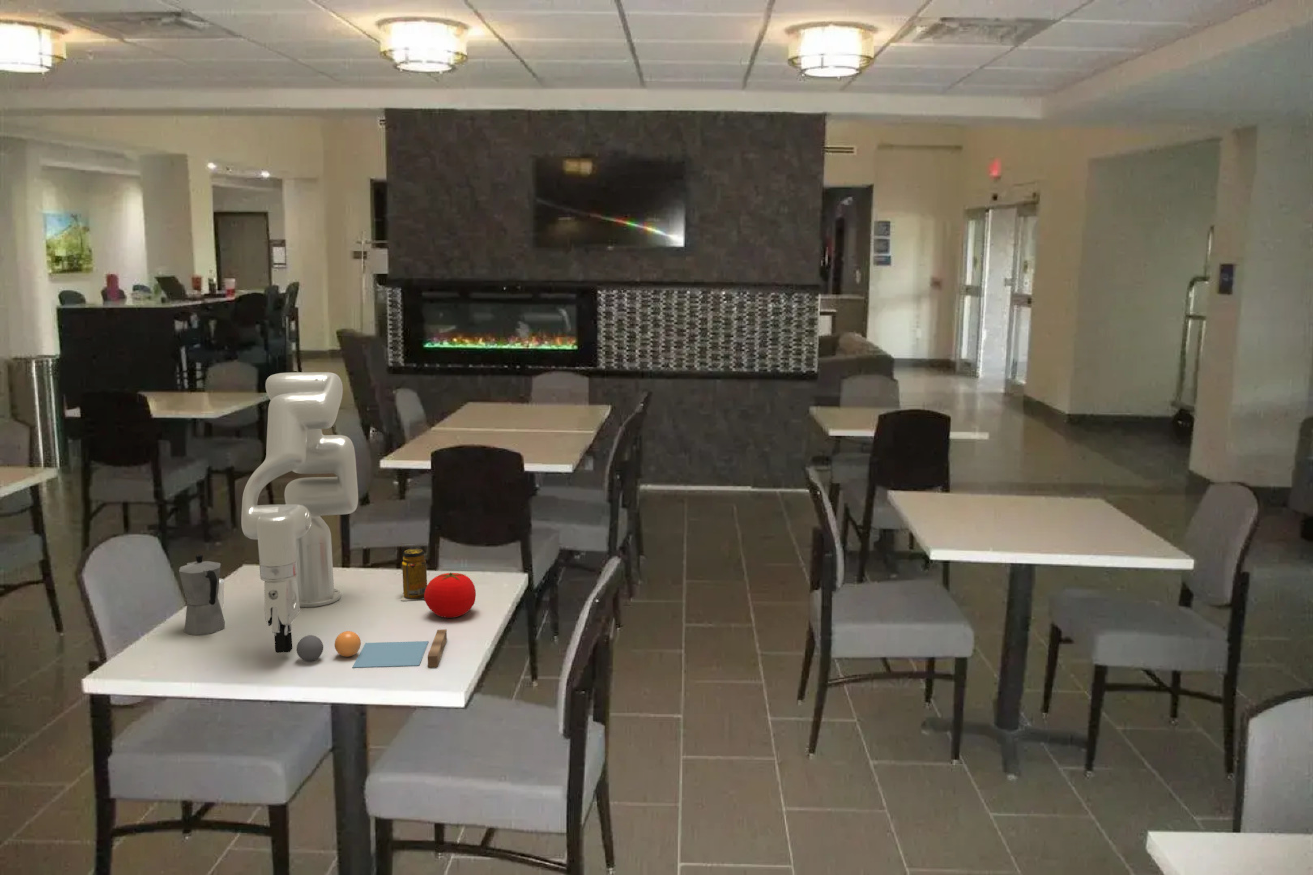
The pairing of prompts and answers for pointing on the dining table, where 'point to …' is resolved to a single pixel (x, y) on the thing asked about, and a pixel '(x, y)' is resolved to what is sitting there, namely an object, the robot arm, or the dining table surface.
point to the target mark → (391, 654)
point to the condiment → (414, 575)
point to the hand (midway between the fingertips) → (284, 651)
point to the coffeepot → (202, 597)
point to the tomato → (450, 595)
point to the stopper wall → (437, 648)
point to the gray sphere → (309, 648)
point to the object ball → (347, 643)
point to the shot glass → (221, 592)
